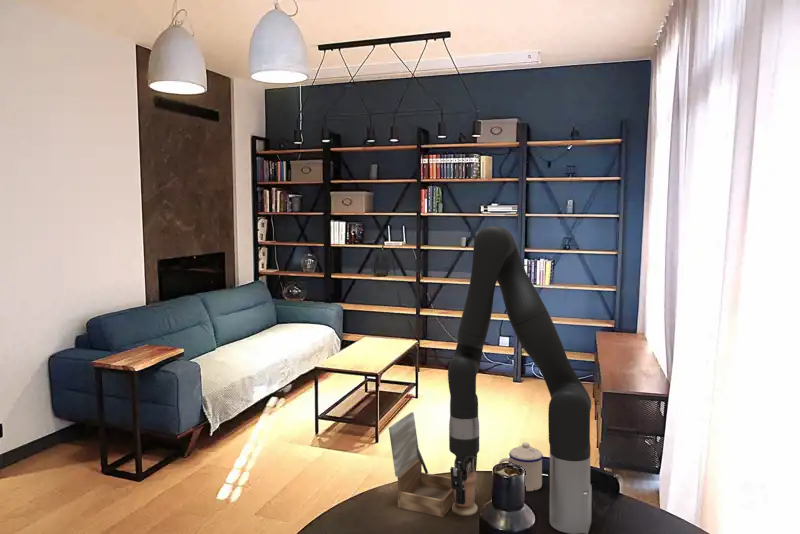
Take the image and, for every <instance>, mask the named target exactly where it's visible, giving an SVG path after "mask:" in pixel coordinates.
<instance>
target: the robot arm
mask: <svg viewBox="0 0 800 534" xmlns="http://www.w3.org/2000/svg"><path fill="white" fill-rule="evenodd" d="M471 263H472V266H471V272H470V273H471V274H470V280H469V287H468V291H467V294H466V295H467V296H466V298H465V302H464V307H463V310H462V313H461V314H462V315H461V319H460V323H459V327H458V329H457V330H458V332H457V345H456V348H455V351H454V354H453V358H452V360H451V361H449V365H448V368H447V382H448V391H449V394H450V395H449V399H450V400H449V425H448V431H449V432H448V441H449V444H448V445H449V446H448V447H449V452H450V453H452V454H453V455H454V456H455V459H454V462H453V464H454V467H453V466H451V467H450V468H449V470H450V478H451V483H452V489H455V490H456V503H457V504H462V505H464V503H465V486H466V485H465V481H466V480H467V478H468V476H469V471H472V472H473V471H475V472H476V473H477V464H478V463H477V462H478V453H480V420H479V400H478V399H479V397H478V395H477V375H478V373H479V370H480V367H481V361H482V355H483V350H484V345H485V342H486V338H487V336H488V332H489V329H490V328H489V327H490V323H491V320H492V313H493V306H494V305H493V304H494V296H495V295H494V294H495V290H496V285H497V283H498V285H499V288H500V292H501V294H502V298H503V303H504V307H505V311H506V314H507V318H508V320H509V323H510V325H511V326H512V329H513V331H514V334H515V335H516V337H517V340H518V341H519V344H520V345H521V347H522V349H523V350H524V352H526V354H527V355H528V356H529V357H530V359H531V360H532V362H533V363H534V364H535V365H536V367H537V369H539V371H540V373H541V375H542V377H543V380H544V382H545V384H546V387H547V390H548V393H549V396H550V398H551V399H550V400H549V403H548V416H547V417H548V419H547V421H548V443H549V444H548V445H549V524H550V525H551V527H552V528H553V529H555V530H556V531H558V532H562V533H564V534H589V531H590V529H591V525H592V495H593V494H592V492H593V491H592V484H591V425H590V424H591V410H592V400H591V397H590V395H589V393H588V391H587V390H586V387H585V386H584V385H583V383H582V381H581V380H580V378H579V376H578V375H577V373H576V372H575V370H574V368H573V366H572V364H571V362H570V361H569V359H568V356H567V353H566V352H565V351H566V350H565V348H564V346H563V343H562V341H561V338H560V336H559V333H558V330H557V329H556V326H555V324H554V322H553V320H552V317H551V316H550V313H549V311H548V309H547V307H546V305H545V303H544V302H543V300H542V297H541V296H540V295H539V292H538V291H537V289H536V287H535V286H534V283H533V282H532V281H531V279H530V277H529V275H528V273H527V271H526V270H525V267H524V265H523V261H522V258H521V256H520V253H519V251H518V247H517V244H516V241H515V239H514V236H513V234H512V233H511V232H510V231H509V230H508V229H506V228H504V227H502V226H496V225H490V226H485V227H484V228H482V229H481V230H479V232H477V234H476V235H475V237H474V239H473V250H472V262H471ZM462 475H465V476H464V477H463V476H462ZM462 480H463V482H462ZM457 482H458V483H459V484H458V483H457Z"/></svg>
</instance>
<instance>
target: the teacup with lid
mask: <svg viewBox="0 0 800 534" xmlns="http://www.w3.org/2000/svg"><path fill="white" fill-rule="evenodd" d="M530 445H531V444H530V443H528V442H523V443H522V445H519V446H517V447H514V448H511V449H510V450H509V453H508V455H509V457H505V458H501V459H500V460H499V462H498V465H499V464H500V463H502V464H504V463H505V462H509V463H510V462H512V463H514V464H517V465H520V466H522V467H523V468H524V469H525V471H526V475H525V486H526V491H525V492H535V491H538V490H539V489H541V488H542V486H543V458H544V454H543V452H542V451H540V450H539V449H538V448H535V447H533V446H530ZM534 490H535V491H534Z"/></svg>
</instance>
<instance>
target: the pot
mask: <svg viewBox="0 0 800 534" xmlns="http://www.w3.org/2000/svg"><path fill="white" fill-rule="evenodd" d="M462 476H463V477H464V476H465V475H462ZM477 478H478V476H477V471H476V472H475V471H473V472H472V471H469V476H468V478H467V480H466V481H465V485H466V486H465V503H464V505H462V504H457V503H456V490H455V489H454V503H455V504H456V505H459V506H471V505H473V504H474V503H475V504H476V502H475V501H476V497H475V486H476V485H475V484H476V482H477ZM462 482H463V480H462ZM457 483H458V482H457ZM458 484H459V483H458Z"/></svg>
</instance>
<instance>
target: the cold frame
mask: <svg viewBox="0 0 800 534" xmlns="http://www.w3.org/2000/svg"><path fill="white" fill-rule="evenodd" d="M388 433H389V439H390V446H391V447H390V448H391V454H392V461H393V470H394V475H395V477H397V508H400V509H404V510H408V511H413V512H418V513H422V514H427V515H432V516H437V517H441V518H444V517H445V516H446V514H447V513H448V512H449V511H450V510H451V509H452V504H453V503H454V489H452V483H451V476H450V477H449V476H444V475H438V474H433V473H429V471H428V469H427V466H426V464H425V461H424V459H423V456H422V453H421V451H420V449H419V442H418V435H417V428H416V421H415V414H414V411H413V412H412V411H411V412H409V413H408V414H407V415H405V416H403V417H402V418H401V419H399V420H398V421H396V422H395V423H393V424H391V425H390V426H389V427H388ZM422 469H423V470H422ZM422 471H424V472H422Z"/></svg>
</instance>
